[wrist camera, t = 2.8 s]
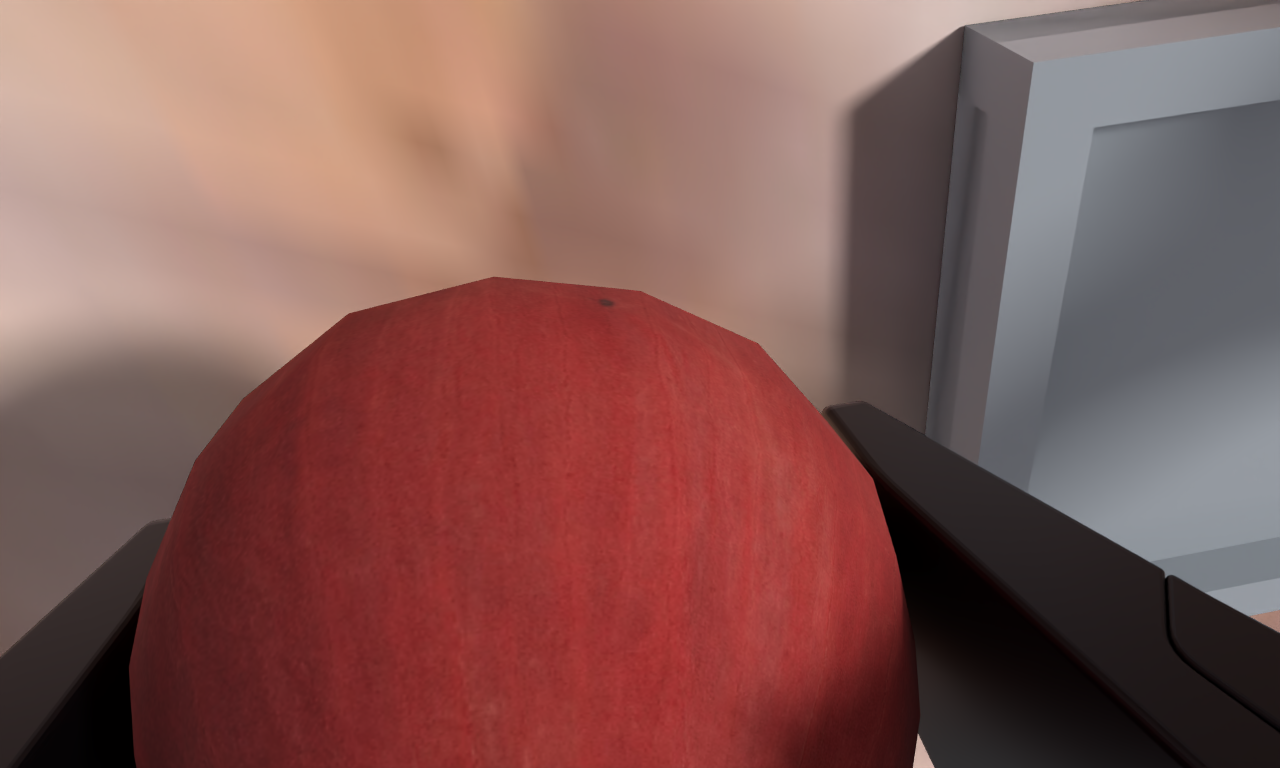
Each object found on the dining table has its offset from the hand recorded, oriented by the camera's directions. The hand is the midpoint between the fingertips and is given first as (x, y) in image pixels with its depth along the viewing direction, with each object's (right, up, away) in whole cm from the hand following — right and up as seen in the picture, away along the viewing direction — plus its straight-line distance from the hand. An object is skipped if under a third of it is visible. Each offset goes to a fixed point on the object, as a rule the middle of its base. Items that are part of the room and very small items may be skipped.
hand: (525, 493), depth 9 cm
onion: (0, +1, +2) cm, 2 cm away
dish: (+12, +2, +8) cm, 15 cm away
